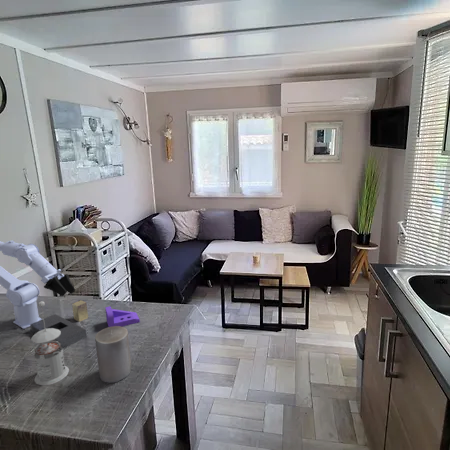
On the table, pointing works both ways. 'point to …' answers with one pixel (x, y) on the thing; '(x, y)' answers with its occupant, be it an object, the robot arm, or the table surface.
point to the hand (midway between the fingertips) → (69, 292)
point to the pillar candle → (113, 354)
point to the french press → (48, 355)
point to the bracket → (120, 317)
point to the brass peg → (80, 310)
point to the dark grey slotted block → (61, 329)
